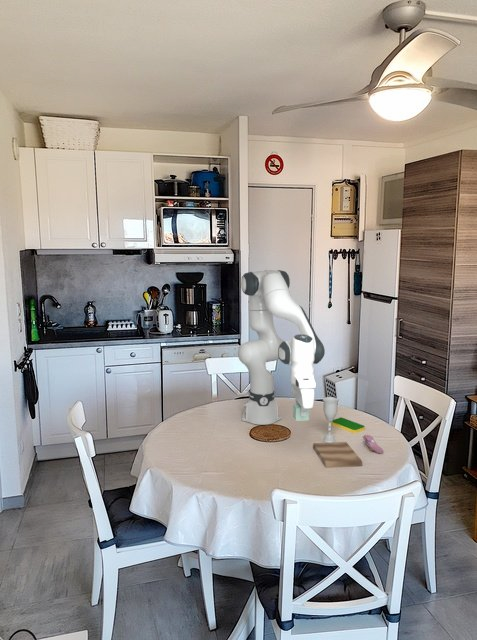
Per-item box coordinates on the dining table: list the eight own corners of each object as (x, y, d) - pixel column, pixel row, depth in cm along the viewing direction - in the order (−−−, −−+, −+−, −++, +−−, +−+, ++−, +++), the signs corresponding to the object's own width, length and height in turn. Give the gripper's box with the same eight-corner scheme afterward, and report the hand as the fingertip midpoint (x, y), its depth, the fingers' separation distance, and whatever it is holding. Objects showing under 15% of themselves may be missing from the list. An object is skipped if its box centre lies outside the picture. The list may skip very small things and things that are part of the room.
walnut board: (313, 447, 198) (313, 443, 198) (346, 446, 199) (346, 441, 199) (325, 467, 180) (326, 462, 180) (361, 466, 182) (362, 461, 181)
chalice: (337, 444, 202) (339, 403, 199) (320, 442, 203) (322, 401, 200) (337, 437, 209) (338, 397, 206) (321, 436, 210) (322, 396, 207)
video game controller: (365, 448, 202) (358, 434, 201) (375, 443, 202) (368, 429, 201) (374, 458, 192) (367, 443, 191) (384, 453, 192) (377, 438, 191)
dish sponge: (341, 421, 229) (341, 417, 228) (364, 430, 218) (365, 425, 217) (330, 425, 224) (331, 420, 224) (354, 434, 213) (354, 429, 213)
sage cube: (293, 416, 187) (293, 403, 186) (305, 415, 187) (305, 403, 187) (295, 420, 182) (296, 408, 181) (308, 420, 182) (309, 407, 182)
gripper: (288, 370, 192) (287, 404, 194) (300, 385, 172) (299, 422, 174) (303, 370, 193) (302, 403, 195) (317, 385, 173) (316, 422, 175)
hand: (301, 412), depth 184 cm, fingers closed on sage cube, 5 cm apart
